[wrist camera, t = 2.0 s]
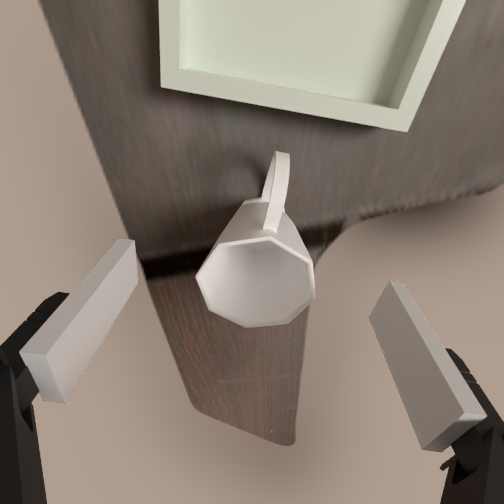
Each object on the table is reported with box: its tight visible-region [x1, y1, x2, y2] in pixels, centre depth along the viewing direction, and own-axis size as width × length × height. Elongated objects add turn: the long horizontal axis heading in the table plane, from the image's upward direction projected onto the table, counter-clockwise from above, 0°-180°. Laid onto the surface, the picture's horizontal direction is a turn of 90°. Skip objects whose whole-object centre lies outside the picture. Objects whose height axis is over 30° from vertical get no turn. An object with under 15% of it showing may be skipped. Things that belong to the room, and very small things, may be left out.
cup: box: [195, 151, 316, 328], centre depth 18 cm, size 7×10×8 cm
